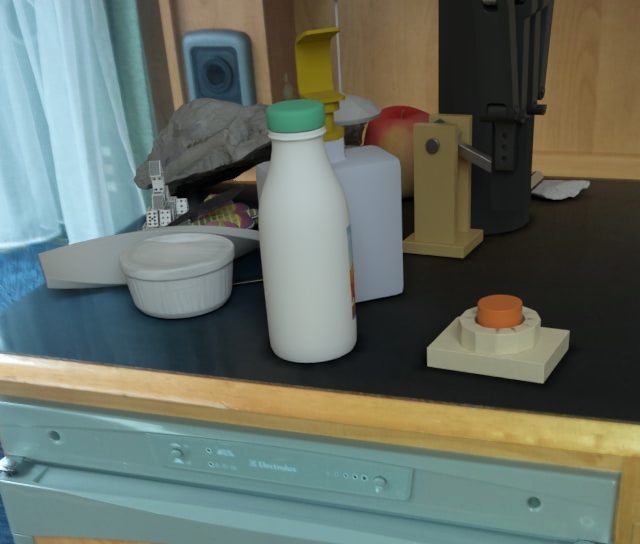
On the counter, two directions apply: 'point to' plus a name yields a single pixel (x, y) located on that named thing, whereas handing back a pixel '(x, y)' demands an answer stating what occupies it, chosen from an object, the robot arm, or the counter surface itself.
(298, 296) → the milk bottle
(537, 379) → the button block
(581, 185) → the stone
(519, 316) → the button
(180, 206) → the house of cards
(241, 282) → the knife
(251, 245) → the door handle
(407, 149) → the apple
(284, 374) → the counter surface
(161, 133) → the stone
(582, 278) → the counter surface
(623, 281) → the counter surface
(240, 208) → the decorative ornament
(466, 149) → the lever
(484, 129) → the vase
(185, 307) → the ramekin
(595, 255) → the counter surface
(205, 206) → the machete
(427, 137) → the bracket
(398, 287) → the soap bottle
